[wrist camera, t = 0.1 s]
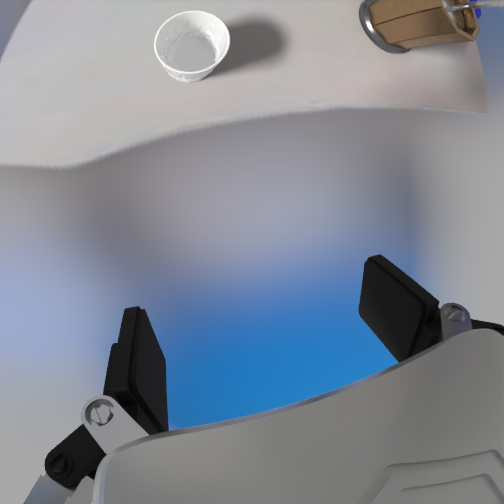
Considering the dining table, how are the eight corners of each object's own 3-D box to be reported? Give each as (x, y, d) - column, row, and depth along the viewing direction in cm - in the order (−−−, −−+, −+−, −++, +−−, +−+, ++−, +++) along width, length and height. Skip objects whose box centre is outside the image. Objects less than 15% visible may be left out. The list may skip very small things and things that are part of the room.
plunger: (423, -20, 17) (528, -38, 1) (455, -2, 18) (550, -7, 2) (434, 23, 21) (551, 17, 4) (465, 38, 22) (567, 44, 5)
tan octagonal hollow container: (354, -10, 29) (420, -41, 14) (411, 9, 31) (478, -4, 16) (364, 47, 34) (441, 30, 19) (420, 61, 37) (493, 58, 21)
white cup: (230, 57, 32) (245, 37, 23) (192, 97, 33) (195, 87, 25) (187, 27, 29) (190, -1, 20) (149, 67, 30) (138, 48, 21)
